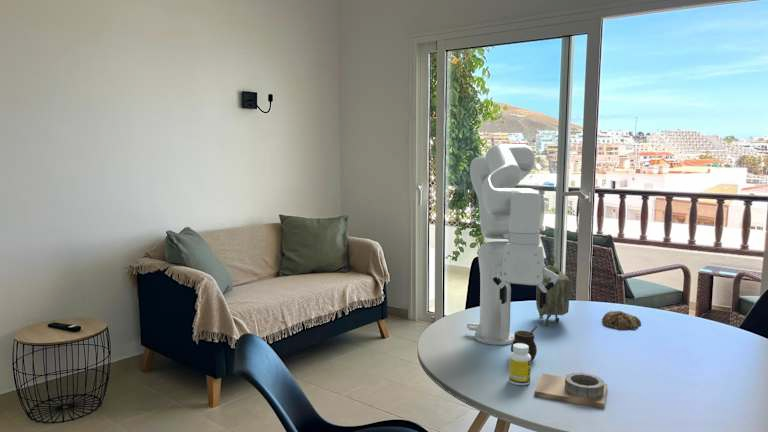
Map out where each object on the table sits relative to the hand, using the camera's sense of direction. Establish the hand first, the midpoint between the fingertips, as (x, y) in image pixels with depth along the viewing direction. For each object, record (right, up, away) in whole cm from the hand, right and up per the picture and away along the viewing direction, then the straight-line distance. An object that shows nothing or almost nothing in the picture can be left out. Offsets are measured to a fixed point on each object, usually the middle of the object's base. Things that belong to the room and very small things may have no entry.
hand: (522, 304), depth 141 cm
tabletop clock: (+23, -15, +53) cm, 60 cm away
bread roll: (+47, -15, +50) cm, 70 cm away
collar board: (+11, -21, -4) cm, 24 cm away
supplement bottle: (0, -21, +2) cm, 21 cm away
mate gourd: (+5, -19, +18) cm, 26 cm away
